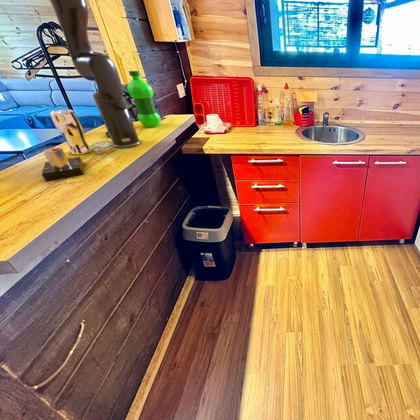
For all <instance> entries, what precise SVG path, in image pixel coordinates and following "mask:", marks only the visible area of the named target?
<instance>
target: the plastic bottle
mask: <svg viewBox="0 0 420 420" xmlns="http://www.w3.org/2000/svg"><path fill="white" fill-rule="evenodd" d="M128 74H129V76H130V77H131V81H130V82H129V83H128V84H127V86H126V87H127V88H126V91H127V93H128V94H129V96H130V97H131V98H132V99H133V101H134V104H135V107H136V109H137V112H138V113H137V119H138V121H139V122H140V124H142V125H143V126H145V127H146V128H154V127H158V126H159V124H160V123H161V122H162V121H161V120H162V118H161V116H160V115H159V113H158V112H157V109H156V106H155V103H154V102H155V101H154V99H153V97H154V90H153V87H152V86H151V85H150V84H148V83H147V82H146V81H144V80H142V79H141V76H142V75H141V72H140V70H128Z"/></svg>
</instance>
